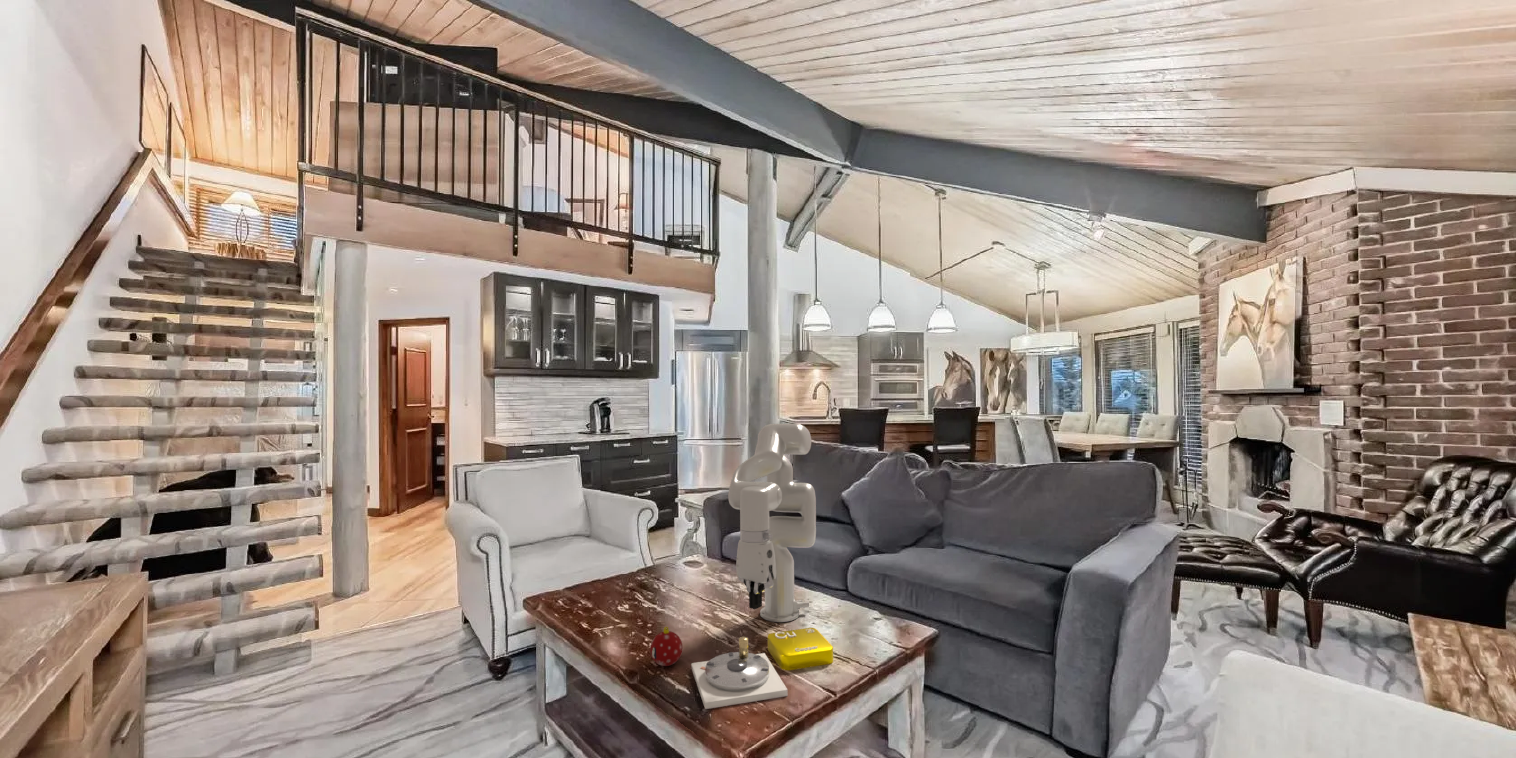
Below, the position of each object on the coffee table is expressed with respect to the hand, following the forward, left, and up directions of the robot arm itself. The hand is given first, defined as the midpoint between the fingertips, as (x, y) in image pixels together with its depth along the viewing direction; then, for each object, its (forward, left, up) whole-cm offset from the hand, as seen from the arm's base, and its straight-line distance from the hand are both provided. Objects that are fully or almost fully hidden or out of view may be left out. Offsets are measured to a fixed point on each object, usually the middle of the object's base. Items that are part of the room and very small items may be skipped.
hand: (755, 607), depth 153 cm
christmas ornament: (+21, -13, -18) cm, 31 cm away
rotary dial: (+5, +2, -16) cm, 17 cm away
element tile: (-15, -8, -18) cm, 24 cm away
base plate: (+5, +2, -18) cm, 18 cm away
